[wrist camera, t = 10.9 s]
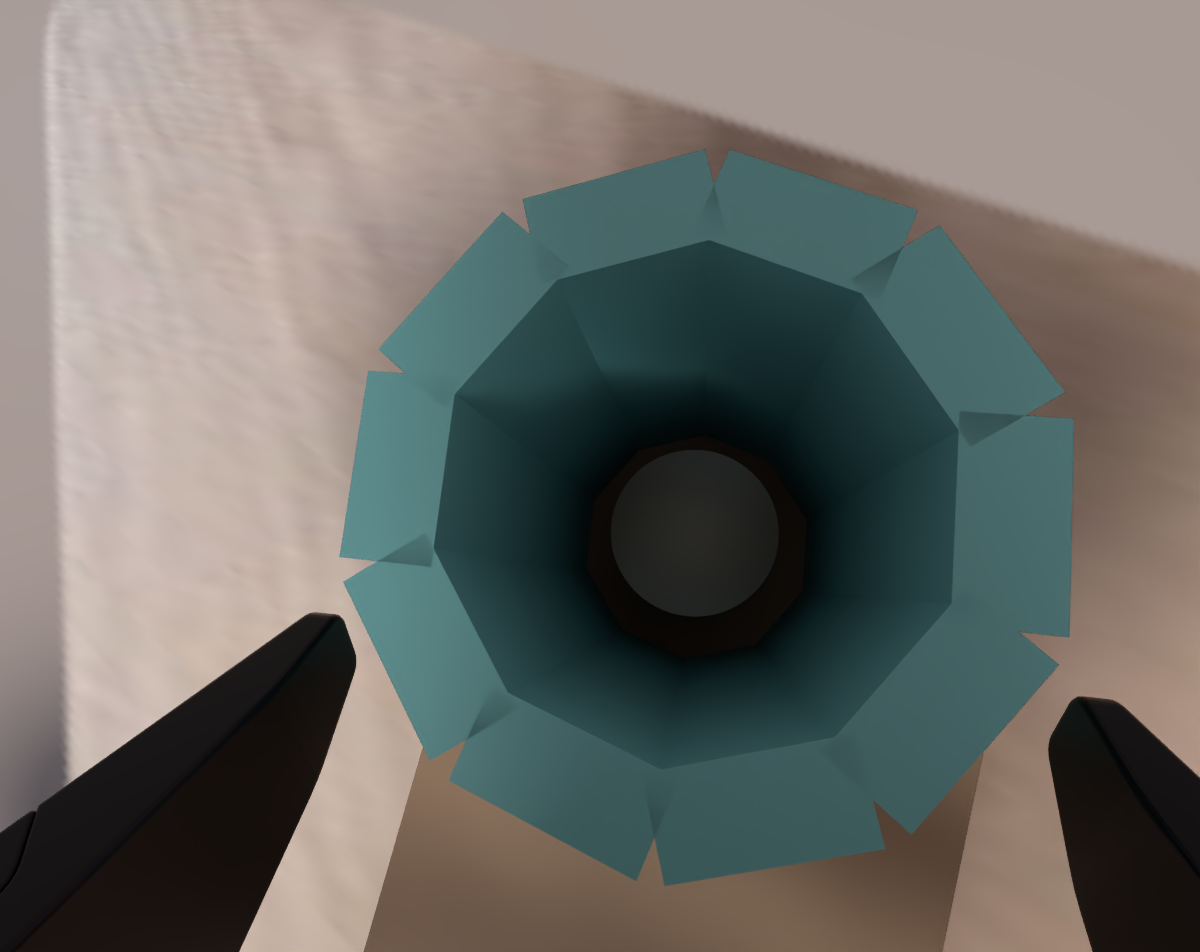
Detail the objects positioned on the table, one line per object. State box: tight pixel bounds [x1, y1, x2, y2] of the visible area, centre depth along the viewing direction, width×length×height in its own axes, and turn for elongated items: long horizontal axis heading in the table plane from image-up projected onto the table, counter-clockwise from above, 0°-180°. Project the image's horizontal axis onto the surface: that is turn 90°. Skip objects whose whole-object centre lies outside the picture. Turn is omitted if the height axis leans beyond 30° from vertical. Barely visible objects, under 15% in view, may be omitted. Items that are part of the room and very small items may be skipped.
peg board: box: [364, 435, 983, 952], centre depth 15 cm, size 16×12×5 cm
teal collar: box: [340, 149, 1074, 886], centre depth 12 cm, size 7×7×10 cm
